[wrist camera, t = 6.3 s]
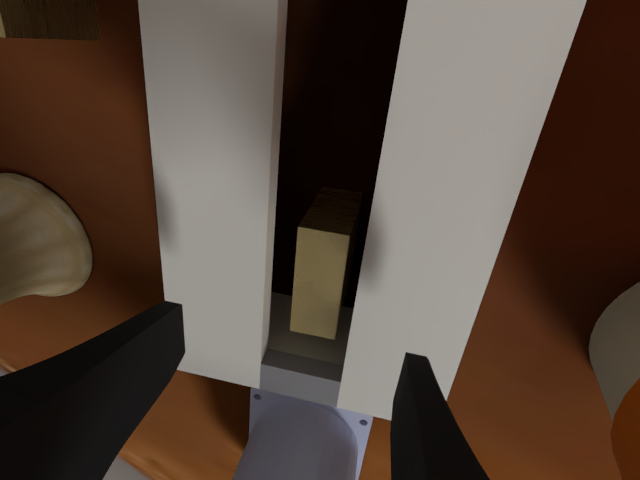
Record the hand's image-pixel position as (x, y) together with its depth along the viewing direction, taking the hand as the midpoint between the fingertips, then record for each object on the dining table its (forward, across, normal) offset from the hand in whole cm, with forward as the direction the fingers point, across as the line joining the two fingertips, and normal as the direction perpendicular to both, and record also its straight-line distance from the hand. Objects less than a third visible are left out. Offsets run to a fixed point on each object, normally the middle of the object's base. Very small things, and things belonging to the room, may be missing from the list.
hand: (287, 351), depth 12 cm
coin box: (+9, 0, -4) cm, 10 cm away
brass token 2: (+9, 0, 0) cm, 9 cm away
